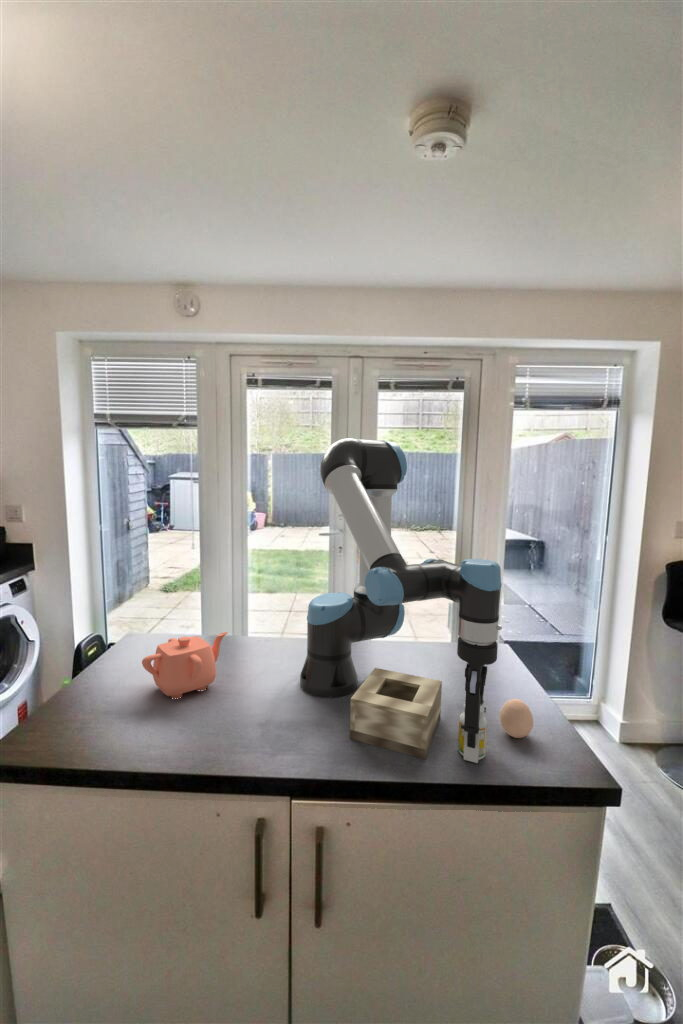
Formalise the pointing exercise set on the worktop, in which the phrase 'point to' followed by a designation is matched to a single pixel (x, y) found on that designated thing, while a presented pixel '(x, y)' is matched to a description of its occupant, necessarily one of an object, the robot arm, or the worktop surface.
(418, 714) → the drop box
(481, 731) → the supplement bottle
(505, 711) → the egg
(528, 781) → the worktop surface
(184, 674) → the teapot
